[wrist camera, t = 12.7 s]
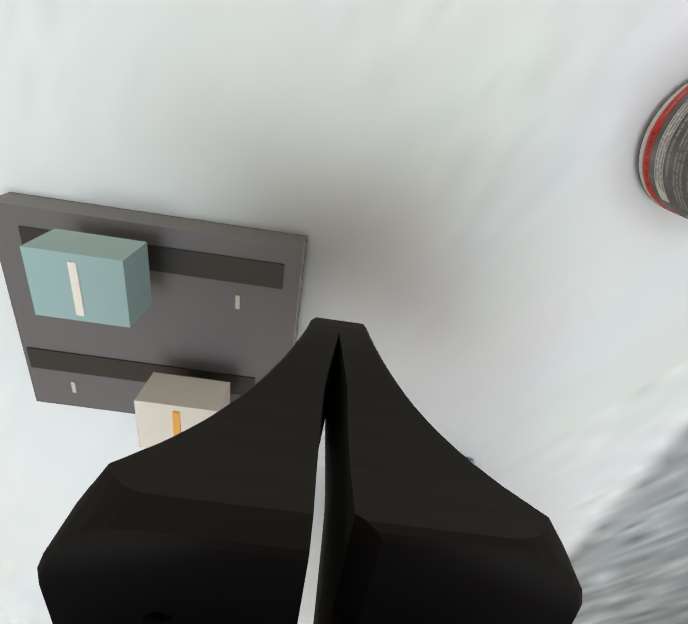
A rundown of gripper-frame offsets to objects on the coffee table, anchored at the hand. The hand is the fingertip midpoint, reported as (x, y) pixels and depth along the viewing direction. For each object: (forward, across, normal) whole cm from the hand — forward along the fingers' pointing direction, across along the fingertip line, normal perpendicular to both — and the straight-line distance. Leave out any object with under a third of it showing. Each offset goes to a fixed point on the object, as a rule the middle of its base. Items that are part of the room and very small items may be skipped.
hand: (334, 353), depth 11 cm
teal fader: (+8, +10, +2) cm, 13 cm away
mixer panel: (+10, +8, +6) cm, 14 cm away
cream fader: (+8, +6, +8) cm, 13 cm away
